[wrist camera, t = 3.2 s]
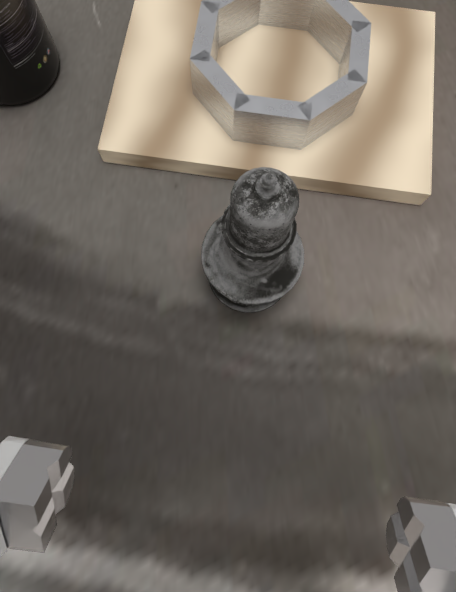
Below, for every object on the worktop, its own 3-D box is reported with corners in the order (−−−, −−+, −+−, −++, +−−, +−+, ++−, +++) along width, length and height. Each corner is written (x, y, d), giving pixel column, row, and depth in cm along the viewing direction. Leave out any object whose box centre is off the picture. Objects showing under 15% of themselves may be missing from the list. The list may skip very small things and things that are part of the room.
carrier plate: (103, 162, 29) (97, 149, 27) (144, -7, 32) (141, -26, 31) (420, 205, 28) (431, 194, 27) (425, 29, 32) (435, 12, 31)
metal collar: (184, 134, 28) (180, 103, 25) (209, 4, 30) (208, -38, 28) (349, 156, 28) (364, 127, 25) (359, 24, 30) (374, -17, 27)
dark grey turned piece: (213, 223, 28) (208, 96, 16) (299, 239, 28) (357, 121, 16) (195, 307, 26) (175, 234, 15) (286, 324, 26) (338, 264, 15)
